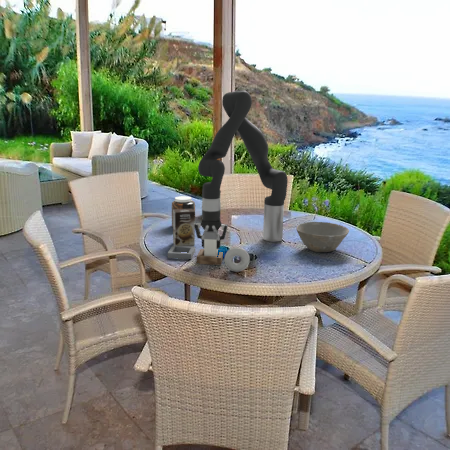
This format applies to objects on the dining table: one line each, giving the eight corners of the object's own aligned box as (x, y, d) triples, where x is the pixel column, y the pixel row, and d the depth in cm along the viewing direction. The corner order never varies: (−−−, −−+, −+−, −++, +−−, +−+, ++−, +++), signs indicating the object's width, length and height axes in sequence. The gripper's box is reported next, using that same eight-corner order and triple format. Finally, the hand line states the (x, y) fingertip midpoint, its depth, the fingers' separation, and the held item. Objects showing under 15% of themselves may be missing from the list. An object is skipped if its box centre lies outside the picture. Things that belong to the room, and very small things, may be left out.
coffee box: (175, 247, 223) (175, 212, 219) (172, 242, 229) (172, 208, 225) (195, 245, 225) (195, 211, 221) (192, 241, 231) (192, 207, 227)
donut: (249, 270, 197) (249, 246, 195) (249, 273, 194) (250, 248, 191) (223, 269, 197) (224, 245, 194) (224, 272, 194) (224, 248, 191)
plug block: (217, 256, 209) (218, 229, 206) (216, 260, 205) (216, 232, 201) (205, 255, 210) (206, 228, 207) (204, 259, 205) (204, 232, 202)
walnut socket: (223, 256, 212) (223, 250, 211) (220, 265, 202) (221, 258, 201) (200, 255, 213) (200, 248, 212) (196, 263, 203) (196, 256, 202)
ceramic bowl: (286, 244, 230) (287, 223, 227) (329, 240, 237) (331, 220, 235) (311, 260, 210) (312, 237, 207) (357, 255, 217) (359, 233, 215)
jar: (185, 230, 248) (185, 201, 244) (167, 227, 254) (166, 198, 249) (199, 225, 257) (199, 197, 253) (181, 222, 263) (180, 194, 259)
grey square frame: (195, 252, 217) (195, 246, 216) (191, 259, 207) (191, 254, 207) (172, 250, 218) (172, 245, 217) (167, 258, 208) (167, 252, 208)
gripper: (229, 206, 204) (229, 246, 209) (195, 205, 206) (195, 244, 210) (227, 211, 197) (227, 252, 202) (192, 209, 198) (192, 250, 203)
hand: (211, 247), depth 206 cm, fingers closed on plug block, 5 cm apart
